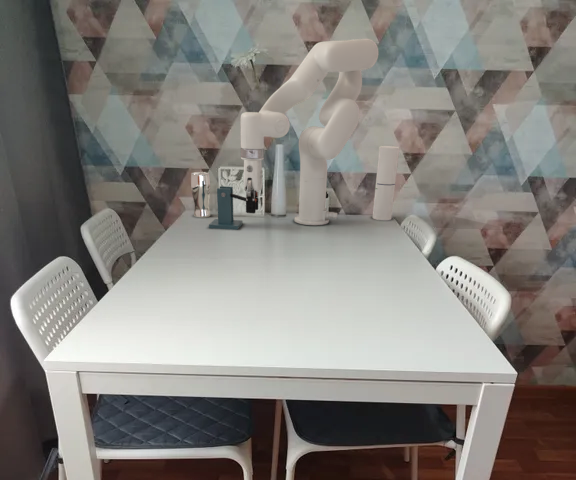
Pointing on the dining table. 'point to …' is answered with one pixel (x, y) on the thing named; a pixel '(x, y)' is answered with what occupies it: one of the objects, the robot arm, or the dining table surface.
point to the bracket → (225, 210)
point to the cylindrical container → (385, 182)
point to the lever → (239, 197)
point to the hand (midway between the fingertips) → (252, 210)
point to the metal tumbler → (201, 193)
